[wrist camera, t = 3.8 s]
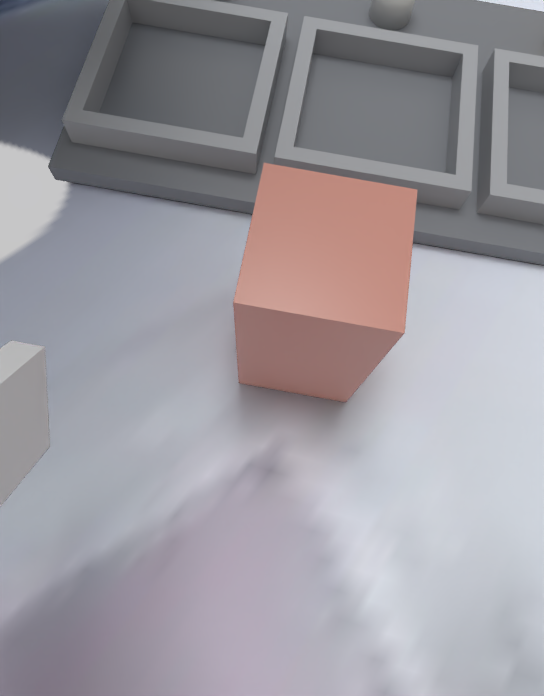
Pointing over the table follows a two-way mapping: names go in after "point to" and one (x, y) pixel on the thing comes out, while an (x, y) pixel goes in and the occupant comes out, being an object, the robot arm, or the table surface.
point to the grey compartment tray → (321, 107)
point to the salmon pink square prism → (322, 281)
